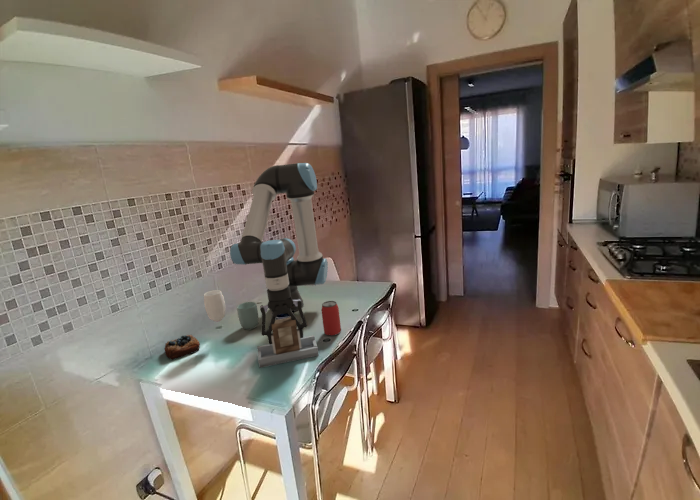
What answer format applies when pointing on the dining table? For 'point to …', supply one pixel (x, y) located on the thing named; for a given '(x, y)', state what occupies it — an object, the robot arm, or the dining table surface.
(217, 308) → the cup
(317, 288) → the dining table surface
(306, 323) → the robot arm
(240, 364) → the dining table surface
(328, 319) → the beer can
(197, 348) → the pastry
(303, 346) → the grey trough
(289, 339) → the frame
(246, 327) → the cup
